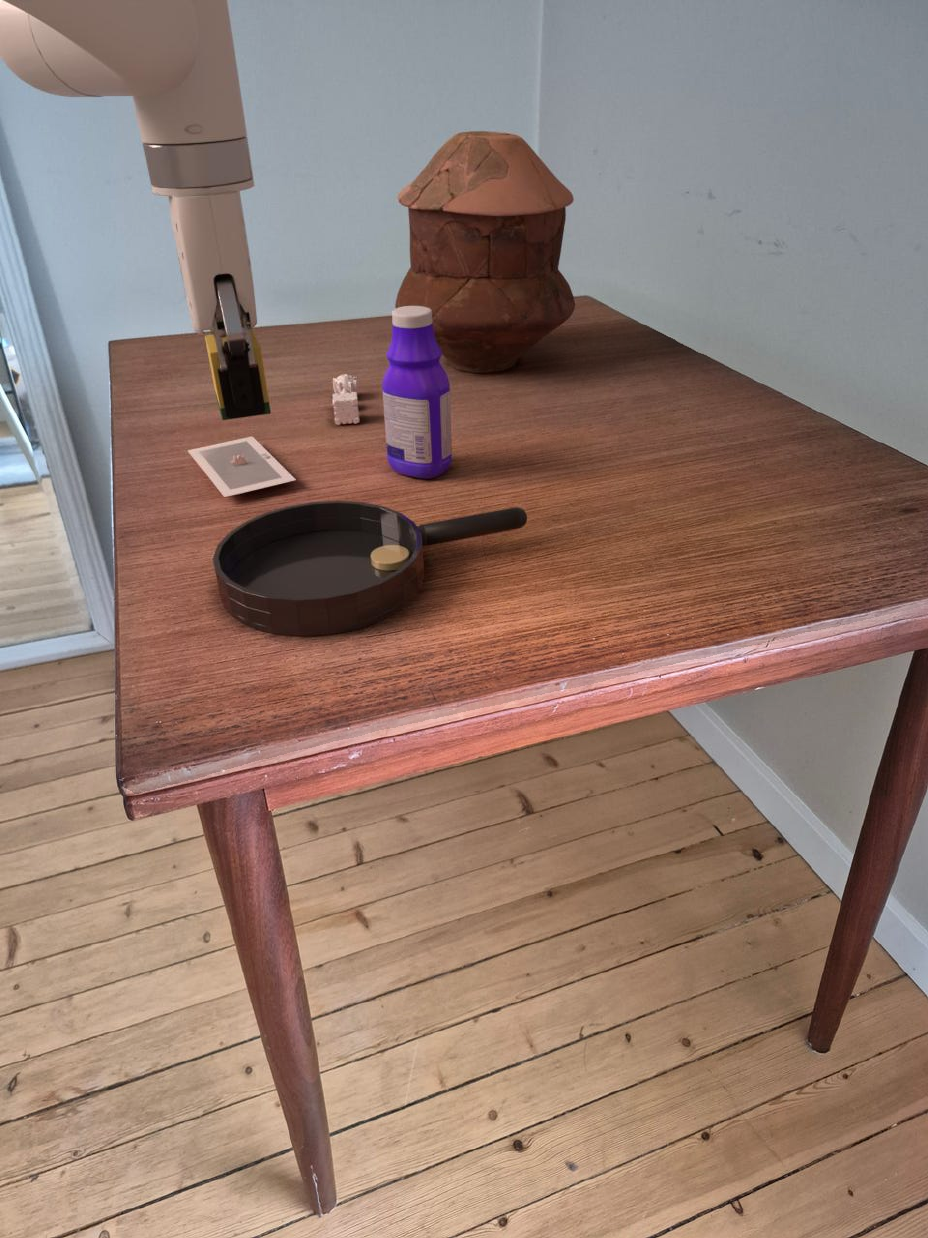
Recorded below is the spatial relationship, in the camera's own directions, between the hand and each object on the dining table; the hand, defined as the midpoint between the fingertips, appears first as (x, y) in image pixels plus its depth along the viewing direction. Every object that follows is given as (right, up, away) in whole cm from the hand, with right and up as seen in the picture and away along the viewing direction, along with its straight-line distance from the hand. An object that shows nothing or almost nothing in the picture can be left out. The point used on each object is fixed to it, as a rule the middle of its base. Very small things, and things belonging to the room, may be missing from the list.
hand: (241, 401), depth 77 cm
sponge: (0, 0, 0) cm, 1 cm away
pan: (+6, -15, +4) cm, 17 cm away
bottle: (+14, -2, +23) cm, 28 cm away
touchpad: (-6, -2, +24) cm, 25 cm away
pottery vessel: (+22, +19, +56) cm, 63 cm away
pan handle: (+20, -11, +6) cm, 23 cm away
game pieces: (+4, +9, +41) cm, 42 cm away
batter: (+12, -13, +5) cm, 19 cm away
